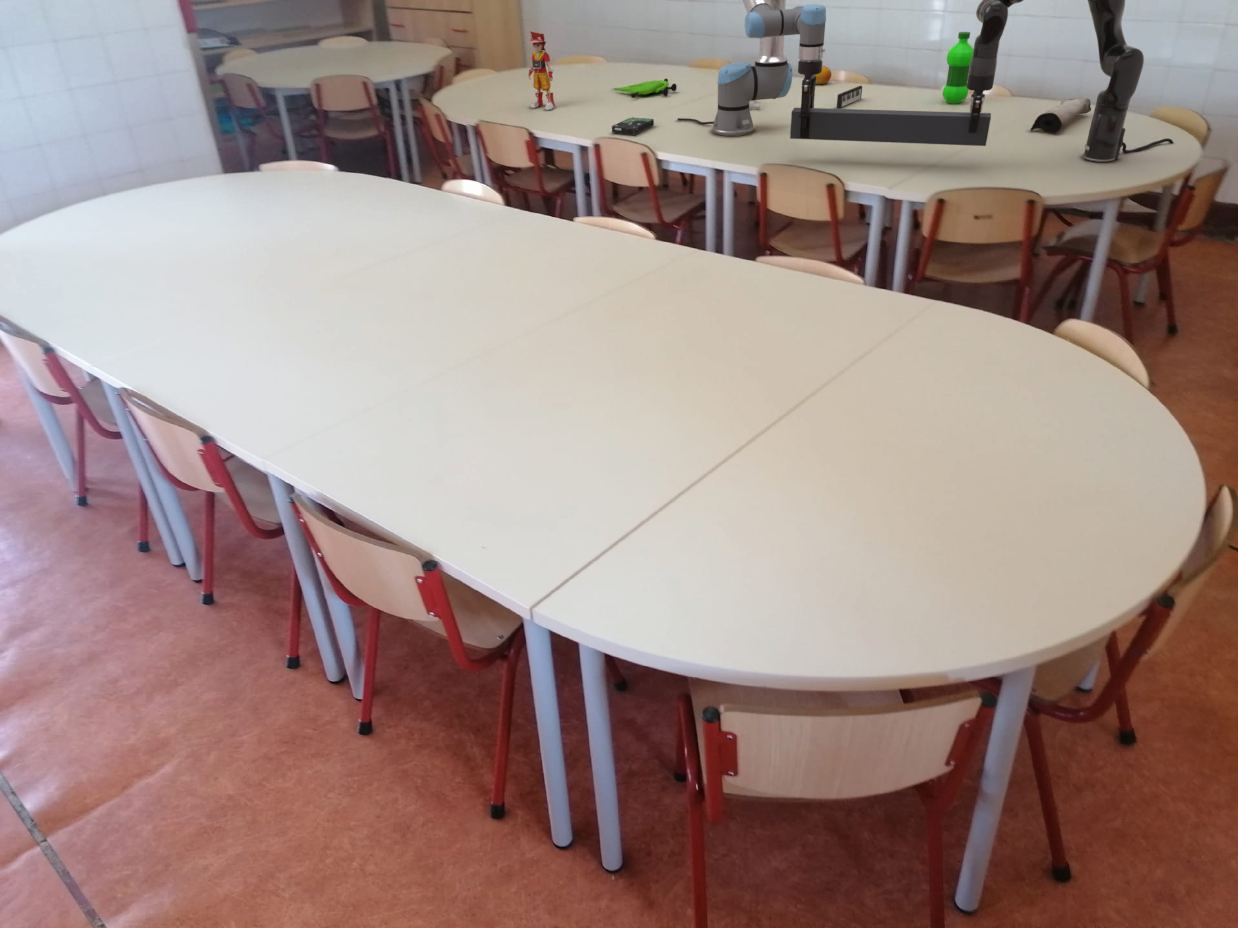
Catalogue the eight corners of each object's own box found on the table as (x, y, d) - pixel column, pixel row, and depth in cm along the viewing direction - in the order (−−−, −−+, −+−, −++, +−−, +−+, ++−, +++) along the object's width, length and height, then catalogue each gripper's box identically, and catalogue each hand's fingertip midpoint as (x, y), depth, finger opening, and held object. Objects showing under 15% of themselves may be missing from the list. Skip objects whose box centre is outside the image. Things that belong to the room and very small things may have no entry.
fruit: (806, 77, 389) (817, 59, 386) (809, 80, 396) (820, 63, 393) (821, 87, 387) (833, 70, 384) (824, 90, 395) (835, 74, 392)
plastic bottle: (973, 101, 354) (984, 32, 339) (955, 106, 349) (966, 36, 335) (952, 97, 361) (962, 29, 346) (934, 102, 356) (944, 33, 342)
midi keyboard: (839, 108, 356) (840, 95, 353) (836, 108, 357) (837, 94, 354) (861, 99, 366) (862, 86, 363) (858, 98, 367) (859, 85, 364)
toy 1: (525, 109, 381) (517, 32, 364) (534, 104, 388) (527, 28, 371) (550, 110, 377) (543, 32, 360) (559, 105, 384) (553, 28, 367)
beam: (790, 138, 297) (791, 111, 292) (792, 134, 301) (794, 107, 296) (985, 146, 280) (990, 117, 275) (985, 141, 283) (990, 113, 278)
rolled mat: (1058, 102, 333) (1083, 85, 325) (1072, 123, 334) (1096, 106, 326) (1026, 124, 316) (1051, 107, 308) (1040, 146, 317) (1066, 129, 308)
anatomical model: (727, 81, 368) (751, 74, 367) (732, 106, 373) (755, 100, 373) (734, 89, 355) (759, 82, 354) (738, 116, 361) (763, 109, 360)
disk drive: (634, 136, 338) (654, 126, 348) (634, 128, 336) (654, 118, 346) (611, 133, 343) (631, 123, 353) (611, 126, 341) (631, 116, 351)
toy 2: (686, 85, 398) (631, 84, 414) (685, 72, 395) (629, 72, 411) (651, 104, 381) (596, 103, 397) (650, 92, 378) (594, 91, 394)
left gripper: (818, 66, 276) (812, 143, 289) (826, 54, 290) (821, 128, 303) (793, 66, 278) (789, 142, 292) (803, 53, 292) (798, 127, 305)
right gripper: (995, 78, 264) (985, 137, 274) (995, 67, 275) (985, 124, 285) (968, 77, 266) (959, 136, 276) (969, 67, 277) (960, 123, 287)
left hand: (805, 135), depth 297 cm, fingers closed on beam, 5 cm apart
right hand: (972, 129), depth 281 cm, fingers closed on beam, 5 cm apart
